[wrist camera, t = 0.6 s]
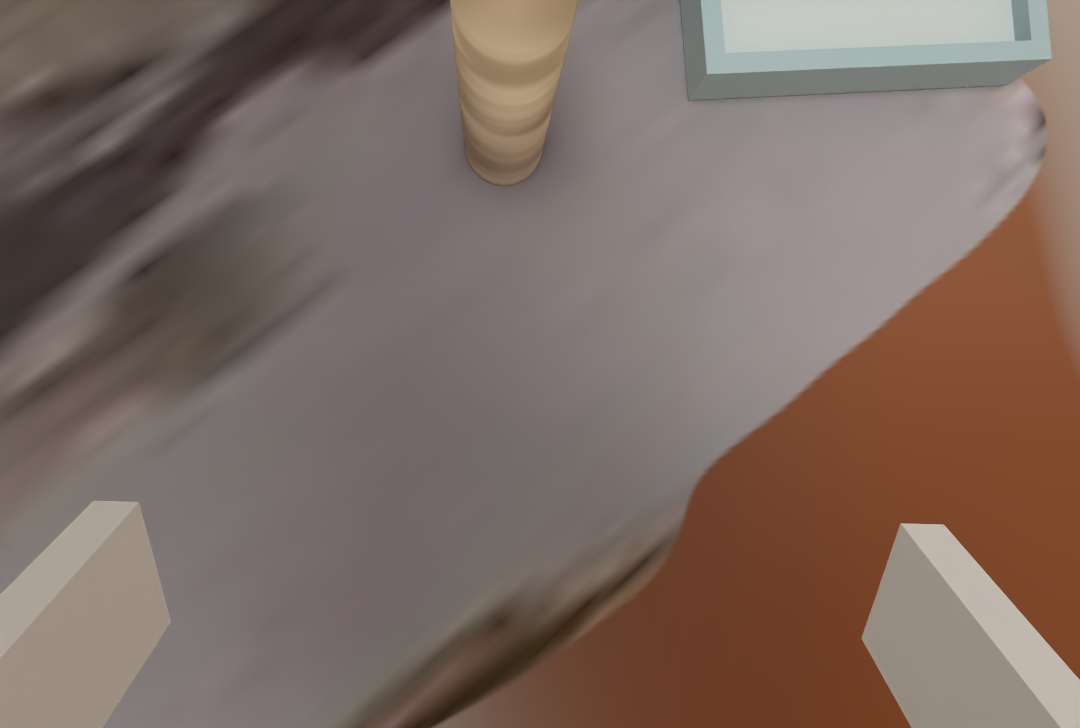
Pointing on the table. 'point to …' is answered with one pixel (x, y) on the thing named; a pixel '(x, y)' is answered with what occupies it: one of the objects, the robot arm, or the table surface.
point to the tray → (858, 45)
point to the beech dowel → (508, 80)
